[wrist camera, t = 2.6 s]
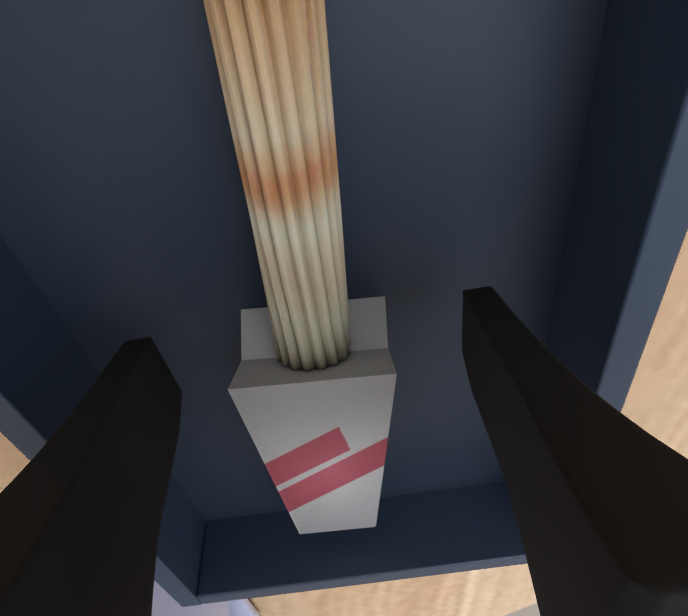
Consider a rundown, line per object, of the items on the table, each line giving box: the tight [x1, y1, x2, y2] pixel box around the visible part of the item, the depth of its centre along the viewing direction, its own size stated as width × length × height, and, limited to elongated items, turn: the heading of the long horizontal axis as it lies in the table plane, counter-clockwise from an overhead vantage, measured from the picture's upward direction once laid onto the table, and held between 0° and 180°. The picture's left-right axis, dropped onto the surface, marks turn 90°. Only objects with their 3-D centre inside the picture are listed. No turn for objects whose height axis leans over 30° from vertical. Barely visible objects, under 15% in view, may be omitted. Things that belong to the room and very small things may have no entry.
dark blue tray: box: [0, 0, 688, 607], centre depth 13 cm, size 24×15×3 cm, turn 8°
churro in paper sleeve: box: [203, 0, 397, 534], centre depth 13 cm, size 4×3×20 cm
